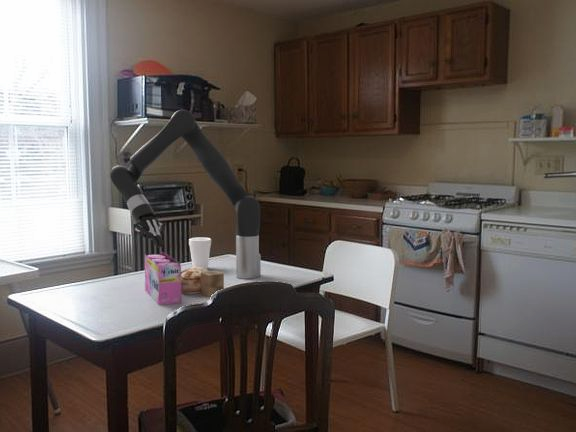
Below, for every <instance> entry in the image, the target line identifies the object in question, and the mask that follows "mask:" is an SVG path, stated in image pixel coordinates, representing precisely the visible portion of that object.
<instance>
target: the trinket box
mask: <svg viewBox="0 0 576 432" xmlns="http://www.w3.org/2000/svg"><path fill="white" fill-rule="evenodd" d="M208 271H209V270H208V268H207V269H205V268H201V267H194V268H193V267H190V268H186V269H184V270H181V294H182V293H183V294H187V295H189V294H190V295H194V294H199V293H200V294H201V272H208Z"/></svg>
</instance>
